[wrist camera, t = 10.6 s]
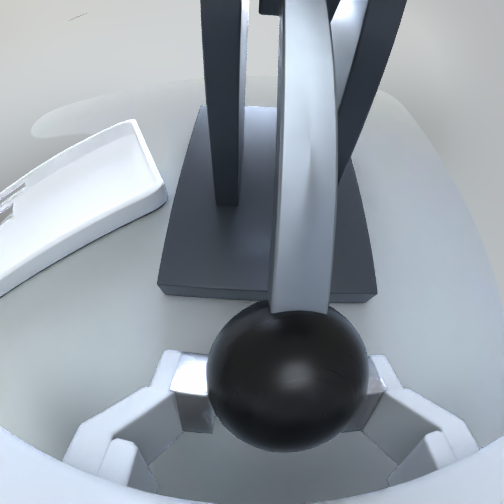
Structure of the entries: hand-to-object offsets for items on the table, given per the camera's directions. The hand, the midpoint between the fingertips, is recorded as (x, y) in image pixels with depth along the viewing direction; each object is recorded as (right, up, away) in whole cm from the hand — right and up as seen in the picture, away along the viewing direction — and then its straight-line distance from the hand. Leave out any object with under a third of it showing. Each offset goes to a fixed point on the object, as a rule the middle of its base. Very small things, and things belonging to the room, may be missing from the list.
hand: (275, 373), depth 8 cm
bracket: (0, +7, +7) cm, 10 cm away
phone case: (-13, +6, +6) cm, 15 cm away
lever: (0, +6, -1) cm, 6 cm away
